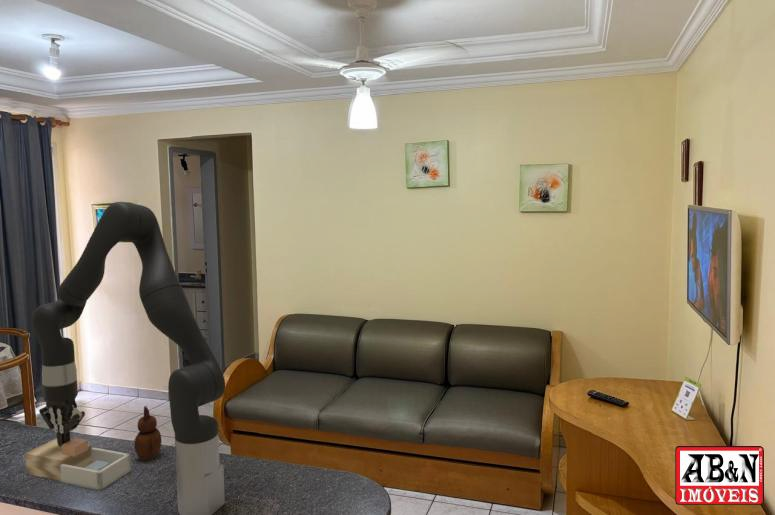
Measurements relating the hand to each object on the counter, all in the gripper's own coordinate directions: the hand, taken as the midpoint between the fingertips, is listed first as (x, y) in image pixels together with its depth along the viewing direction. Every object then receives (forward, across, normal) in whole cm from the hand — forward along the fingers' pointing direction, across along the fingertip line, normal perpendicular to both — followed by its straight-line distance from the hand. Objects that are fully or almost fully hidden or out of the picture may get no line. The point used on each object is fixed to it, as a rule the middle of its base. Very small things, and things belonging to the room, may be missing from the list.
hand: (63, 445), depth 141 cm
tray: (+7, -10, 0) cm, 12 cm away
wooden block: (+7, +2, 0) cm, 7 cm away
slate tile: (+4, -10, 0) cm, 11 cm away
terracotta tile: (+1, -4, 0) cm, 4 cm away
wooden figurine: (+7, -15, -13) cm, 21 cm away
